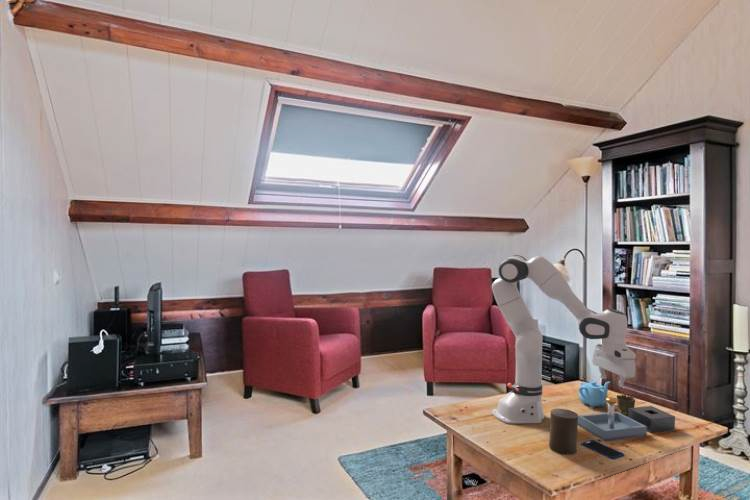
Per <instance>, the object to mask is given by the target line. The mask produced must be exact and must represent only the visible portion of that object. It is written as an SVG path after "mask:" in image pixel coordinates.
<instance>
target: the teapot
mask: <svg viewBox="0 0 750 500" xmlns="http://www.w3.org/2000/svg"><path fill="white" fill-rule="evenodd" d="M610 384H611V381H605V383H604V385H602V384H600V383H597V381H590V382H587V381H585V382H582V383H581V386H579V388H578V391H579V392H578V398H579V400H580V401H581V404H584V405H589V408H591V409H596V407H598V406H599V407H602V408H604V407H605V406H606V405H607V404H608V402H606V397H609V396H608V387H609V385H610Z"/></svg>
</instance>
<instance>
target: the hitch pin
mask: <svg viewBox="0 0 750 500" xmlns="http://www.w3.org/2000/svg"><path fill="white" fill-rule="evenodd" d="M606 402H607V413H608V428H609V429H614V412H615V404H617V397H616V398H615V397H611V396H608V397H606Z"/></svg>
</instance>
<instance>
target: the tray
mask: <svg viewBox="0 0 750 500" xmlns="http://www.w3.org/2000/svg"><path fill="white" fill-rule="evenodd" d="M578 427H581V428H582V429H584V430H585V431H587V432H588V433H590V434H592V435H594V436H595V437H597V438H598V439H599V440H602V441H603V442H607V441H608V442H609V441H619V440H626V439H627V440H628V439H636V438H642V437H644V438H645V437H647V436H648V435H647V434H648V432H647V426H645V425H643V424H641V423H639V422H637V421H635V420H633V419H631V418H629V417H628V416H625V415H623V414H621V412H619V411H614V429H609V428H608V412H601V413H600V412H599V413H590V414H578Z"/></svg>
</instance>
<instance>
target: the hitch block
mask: <svg viewBox="0 0 750 500" xmlns="http://www.w3.org/2000/svg"><path fill="white" fill-rule="evenodd" d="M627 417H629V418H631V419H633V420H635V421H637V422H639V423H641V424H643V425H645V426H647V433H649V434H657V433H665V432H675V428H676V425H675V424H676V416H675V415H674V414H670V413H668V412H666V411H663V410H661V409H659V408H657V407H655V406H652V405H649V406H634V408H629V411H628V416H627Z"/></svg>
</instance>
